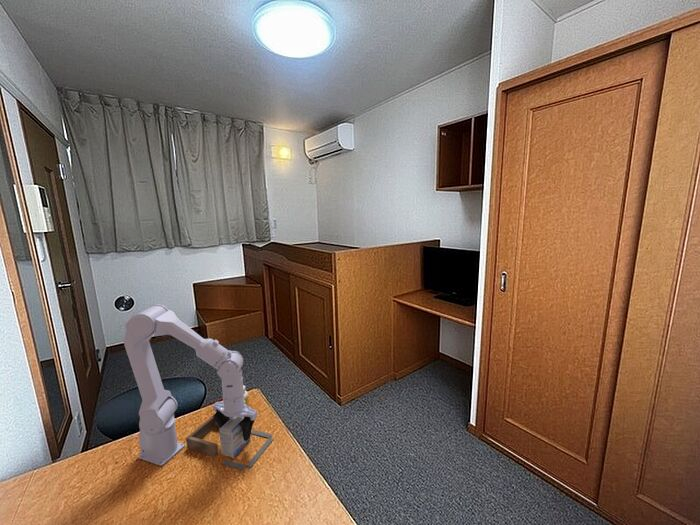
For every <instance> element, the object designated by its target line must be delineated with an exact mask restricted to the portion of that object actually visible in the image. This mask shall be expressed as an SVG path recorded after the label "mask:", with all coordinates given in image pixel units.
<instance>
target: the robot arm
mask: <svg viewBox="0 0 700 525" xmlns="http://www.w3.org/2000/svg"><path fill="white" fill-rule="evenodd" d="M124 327H125V333H124V339H123V344H124V348H125V352H126V355H127V357H128V359H129V363H130V367H131V368H132V369H131V370H132V373H133V376H134V378H135V381H136V385H137V388H138V390H139V391H138V392H139V394H140V396H141V399H142V401H141V404H140V407H139V410H138V416H139V422H138V427H139V432H138V443H139V450H140V454H139V455H138V456H137V458H138V459H140V460H142V461H146V462H148V463H151V464H154V465H158V466H160V467H161V466H163V465H165V464H166V463H167V462H168V461H170V460H171V459H172V458H173V457H174V456H175V455H176V454H177V453H179V452H180V451H181V450H182V449H183V448H184V447H185V443H182V442H178V436H177V428H176V420H175V412H176V411H177V409H178V400H176V398H175V397H174V396H173V395H172V392H171V390H167V389H165V388H164V384H163V382H162V378H161V375H160V372H159V369H158V366H157V362H156V359H155V356H154V353H153V349H152V347H151V346H152V345H151V342H150V341H151V338H152V337H153V336H154V337H161V336H168V335H169V336H172V337H173V338H175V339H177V340H178V341H180V342H182V343H184V344H185V345H187V346H189V347H190V348H192V349H194V350H195V354H196V355H195V356H196V357H197V358H199V359H200V360H203V361H204V362H205V363H207V364H208V365H210V366H211V367H212V368H213V369H215V370H217V371H216V372H217V376H218V377H219V378H220V379H221V389H222V401H216V402H215V403H214V404H212V411H213V412H215V413H214V414H213V415H212V416H213V419H214V420H215V421H216V422H217V423H218V425H219V426H220V428H221V427H222V426H223V425H224V424H225V423H226V422H227V421H229V420H230V419H231V418H232V417H244V419H243V420H242V421H241V422H240V423H239V425H240V426H241V428H242V432H243V438H244V441H247V440H248V439H249V438H250V439H251V436H252V434H251V432H252V431H253V426H254V422H256V421H255V420H256V419H257V418H258V410H255V409H253V408H252V407H250V405H249V406H247V405H246V404H245V403H246V402H245V400H244V390H243V385H244V377H243V371H242V366H243V365H244V356H243V355H242V354H241V353H240V352H239V351H237V350H229V349H227V348H226V347H224V346H223V345H221V344H220V341H219V340H217V339H213V338H204V337H202V336H201V335H200V334H198V333H197V332H196V331H195V330H193V329H192V328H191V327H190V326H188V325H187V324H186V323H184V322H183V321H181V320H180V319H179V318H178V316H177V315H176V313H175V312H174V311H173V310H170V309H168V307H166V306H165V305H163V304H159V303H158V304H157V303H156V304H153V305H151V306H149V307H148V308H147V309H144V310H142V311H141V312H139V313H137V314H134V315H133V316H131V318H129V320H127V322H126V323H125V324H124ZM220 428H219V429H220Z"/></svg>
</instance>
